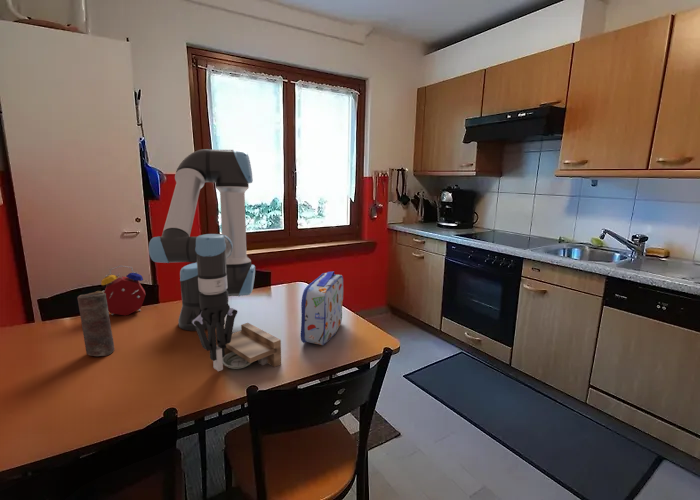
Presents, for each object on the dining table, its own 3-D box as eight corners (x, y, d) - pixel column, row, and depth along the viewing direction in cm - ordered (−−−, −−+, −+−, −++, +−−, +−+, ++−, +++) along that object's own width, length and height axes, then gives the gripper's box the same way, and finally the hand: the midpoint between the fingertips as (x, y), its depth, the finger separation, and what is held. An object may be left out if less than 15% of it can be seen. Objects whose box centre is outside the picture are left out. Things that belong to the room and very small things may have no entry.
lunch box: (320, 317, 148) (320, 264, 143) (345, 320, 146) (346, 266, 141) (297, 349, 121) (296, 285, 117) (327, 352, 119) (327, 288, 115)
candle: (83, 360, 111) (74, 298, 107) (87, 350, 118) (79, 291, 114) (113, 355, 115) (106, 294, 111) (115, 345, 121) (108, 287, 117)
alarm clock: (146, 307, 155) (141, 261, 151) (147, 314, 148) (142, 266, 144) (104, 313, 147) (98, 265, 143) (103, 321, 140) (97, 270, 136)
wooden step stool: (219, 355, 116) (218, 332, 114) (248, 344, 123) (247, 322, 122) (251, 377, 104) (249, 351, 102) (281, 364, 111) (280, 339, 110)
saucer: (223, 376, 105) (223, 368, 104) (220, 360, 113) (220, 353, 113) (258, 369, 109) (257, 362, 108) (252, 355, 117) (252, 348, 117)
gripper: (196, 299, 94) (202, 382, 99) (241, 288, 103) (245, 365, 108) (183, 292, 99) (190, 372, 104) (228, 282, 108) (231, 356, 113)
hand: (218, 368), depth 106 cm, fingers closed
